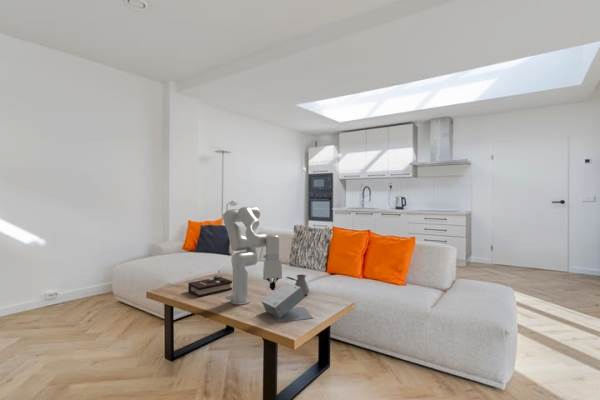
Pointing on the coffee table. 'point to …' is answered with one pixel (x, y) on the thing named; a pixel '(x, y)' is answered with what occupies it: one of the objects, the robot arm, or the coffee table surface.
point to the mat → (295, 315)
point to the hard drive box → (283, 299)
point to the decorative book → (209, 286)
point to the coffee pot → (301, 283)
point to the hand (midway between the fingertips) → (272, 289)
